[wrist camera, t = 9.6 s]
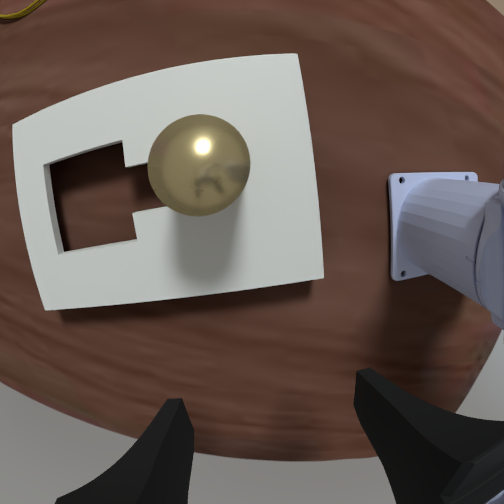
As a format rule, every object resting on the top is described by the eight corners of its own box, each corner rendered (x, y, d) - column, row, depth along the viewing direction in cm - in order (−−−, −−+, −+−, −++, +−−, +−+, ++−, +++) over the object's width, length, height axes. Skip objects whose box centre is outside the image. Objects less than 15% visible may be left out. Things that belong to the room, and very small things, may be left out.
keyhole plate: (290, 66, 17) (297, 53, 15) (314, 266, 20) (323, 278, 18) (30, 127, 16) (12, 124, 14) (60, 298, 20) (45, 310, 18)
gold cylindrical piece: (246, 135, 18) (254, 107, 10) (248, 202, 19) (256, 219, 11) (178, 138, 18) (142, 115, 10) (180, 205, 19) (145, 223, 11)
